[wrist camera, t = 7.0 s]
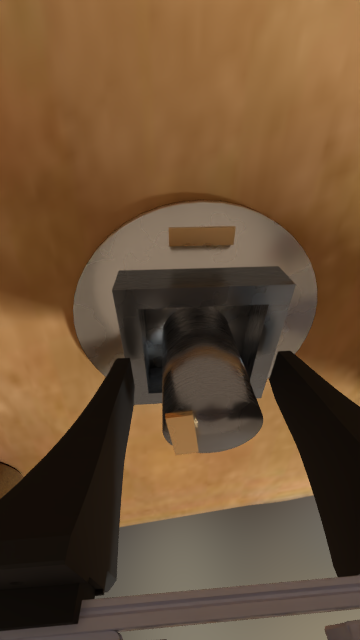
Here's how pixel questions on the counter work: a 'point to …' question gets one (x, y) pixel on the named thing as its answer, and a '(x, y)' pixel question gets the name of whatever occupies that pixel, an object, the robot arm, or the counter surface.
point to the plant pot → (8, 479)
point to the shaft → (205, 385)
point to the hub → (194, 288)
